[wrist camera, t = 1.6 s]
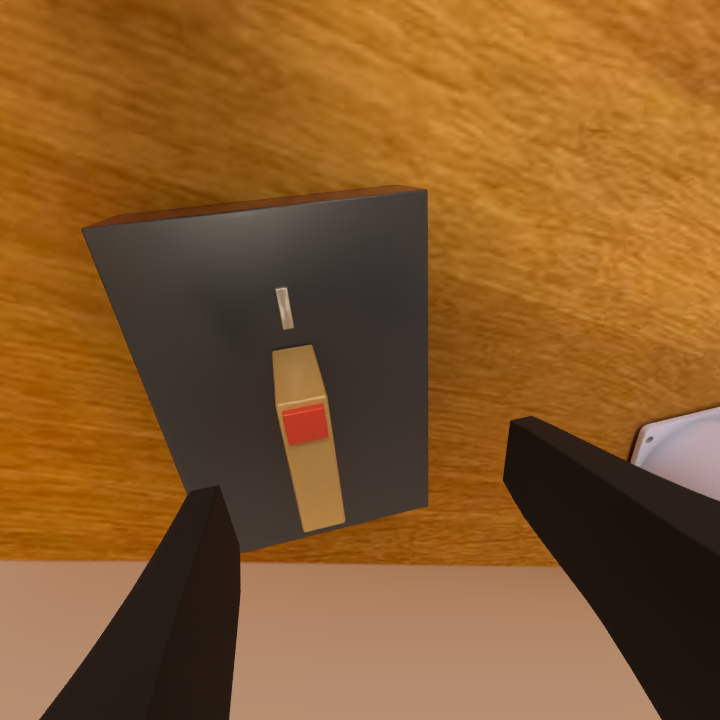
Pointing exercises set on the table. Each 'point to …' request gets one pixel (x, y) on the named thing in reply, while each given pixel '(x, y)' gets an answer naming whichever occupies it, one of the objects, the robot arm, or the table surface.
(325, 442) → the lock knob
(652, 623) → the robot arm
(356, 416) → the lock plate
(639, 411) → the table surface
